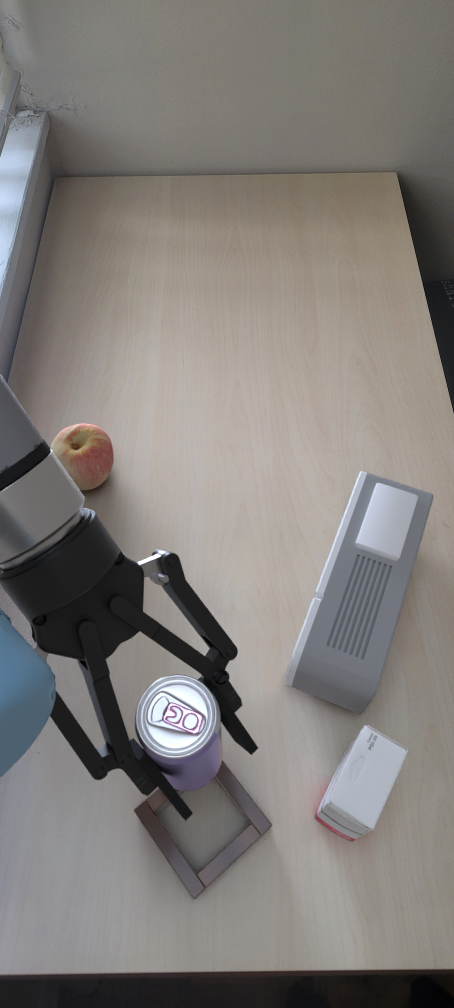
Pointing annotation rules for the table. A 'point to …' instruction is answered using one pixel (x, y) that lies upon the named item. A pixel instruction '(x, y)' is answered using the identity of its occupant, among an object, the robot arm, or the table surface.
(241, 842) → the holder
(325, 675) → the alarm clock
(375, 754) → the ink box
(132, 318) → the table surface
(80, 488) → the apple
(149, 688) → the beverage can
